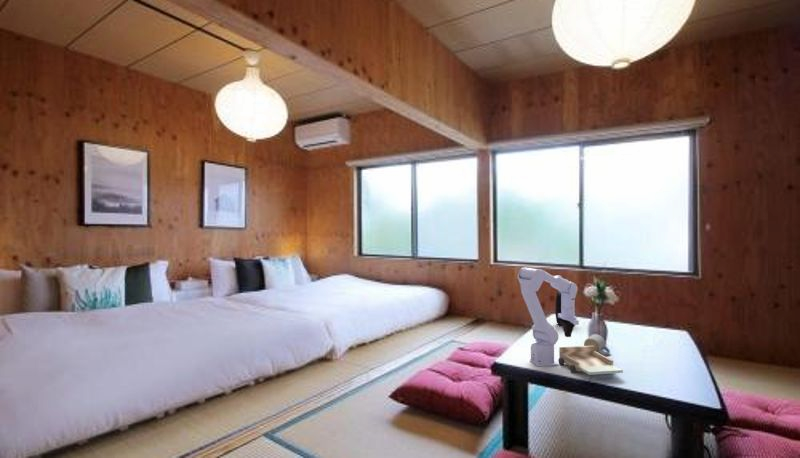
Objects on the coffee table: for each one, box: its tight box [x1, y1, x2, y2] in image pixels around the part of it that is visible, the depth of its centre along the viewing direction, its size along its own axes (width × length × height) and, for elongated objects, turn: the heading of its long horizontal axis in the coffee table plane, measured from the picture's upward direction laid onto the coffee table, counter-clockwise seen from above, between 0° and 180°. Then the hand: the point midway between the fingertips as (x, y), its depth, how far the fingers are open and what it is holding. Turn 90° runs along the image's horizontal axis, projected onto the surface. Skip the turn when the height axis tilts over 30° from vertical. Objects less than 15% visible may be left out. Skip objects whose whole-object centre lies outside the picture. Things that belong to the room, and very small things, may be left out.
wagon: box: [557, 345, 614, 374], centre depth 173 cm, size 18×14×7 cm
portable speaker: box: [554, 291, 563, 326], centre depth 244 cm, size 9×9×20 cm
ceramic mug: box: [583, 333, 611, 356], centre depth 193 cm, size 11×8×8 cm
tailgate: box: [580, 364, 624, 376], centre depth 162 cm, size 14×1×6 cm
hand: (567, 336), depth 187 cm, fingers closed
